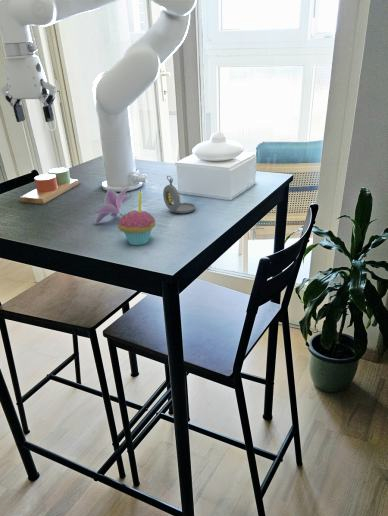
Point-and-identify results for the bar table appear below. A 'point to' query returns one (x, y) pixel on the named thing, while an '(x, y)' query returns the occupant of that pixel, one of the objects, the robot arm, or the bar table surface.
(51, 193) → the board
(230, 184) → the butter dish
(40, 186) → the terracotta disc
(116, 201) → the lily
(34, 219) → the bar table surface
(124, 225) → the cupcake
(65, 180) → the sage disc
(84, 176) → the bar table surface
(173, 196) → the pocket watch
